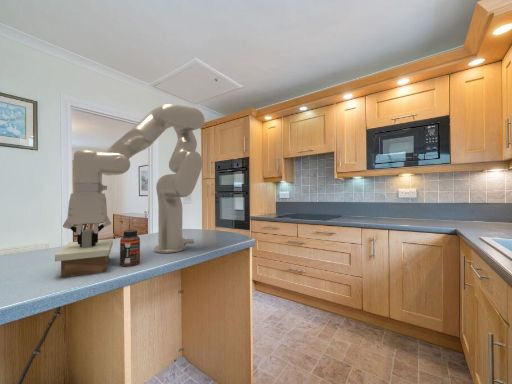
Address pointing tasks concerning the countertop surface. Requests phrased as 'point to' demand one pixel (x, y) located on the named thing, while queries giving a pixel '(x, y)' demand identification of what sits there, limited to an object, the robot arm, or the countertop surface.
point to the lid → (85, 248)
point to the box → (84, 266)
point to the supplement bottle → (129, 248)
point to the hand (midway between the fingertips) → (88, 245)
